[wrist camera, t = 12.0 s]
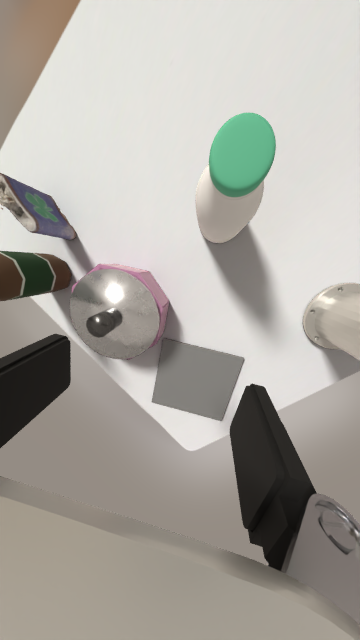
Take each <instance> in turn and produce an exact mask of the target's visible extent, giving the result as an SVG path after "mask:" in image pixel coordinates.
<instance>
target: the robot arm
mask: <svg viewBox="0 0 360 640" xmlns="http://www.w3.org/2000/svg"><path fill="white" fill-rule="evenodd" d="M303 327H304V330H305V333H306V334H307V336H308V337H309V338H310V339H311V340H312V341H313V342H315V343H316V344H318V345H319V346H322V347H324V348H328V349H341V350H343V351H345V352H346V353H348V354H349V355H351V356H353V357H354V358H356V359H357V360H359V361H360V284H356V283H343V284H337V285H334V286H331V287H329V288H327V289H325V290H323V291H322V292H320V293H319V294H317V295H316V296H315V297H314V298H313V299H312V300H311V302H310V303H309V304H308V306H307V308H306V310H305V313H304V316H303ZM69 385H70V341H69V340H68V338H67V337H66V336H62V335H58V334H53V335H51V336H48V337H46V338H44V339H42V340H40V341H37V342H35V343H33V344H31V345H29V346H27V347H24V348H22V349H20V350H18V351H15V352H13V353H11V354H9V355H7V356H5V357H2V358H0V448H1V447H2V446H3V445H5V444H6V443H7V442H8V441H9V440H10V439H11V438H12V437H13V436H14V435H16V434H17V433H18V432H19V431H20V430H21V429H22V428H24V427H25V426H26V425H27V424H28V423H29V422H30V421H31V420H32V419H34V418H35V417H36V416H37V415H38V414H39V413H40V412H41V411H42V410H44V409H45V408H46V407H47V406H48V405H49V404H50V403H51V402H53V400H55V399H56V398H57V397H58V396H59V395H60V394H61V393H63V392H64V391H65V390H66V389H67V388H68V386H69ZM230 438H231V445H232V451H233V458H234V465H235V472H236V478H237V485H238V493H239V500H240V507H241V514H242V520H243V525H244V527H245V528H246V529H248V532H249V538H250V543H252V544H255V545H259V546H262V547H263V552H264V557H265V559H266V561H267V562H266V564H265V565H264V564H262V563H259V562H257V561H255V560H252V559H249V558H246V557H244V556H241V555H238V554H235V553H232V552H229V551H227V550H224V549H221V548H218V547H215V546H212V545H210V544H207V543H204V542H201V541H198V540H195V539H192V538H189V537H186V536H183V535H180V534H177V533H174V532H171V531H168V530H165V529H162V528H159V527H156V526H153V525H150V524H147V523H144V522H141V521H138V520H135V519H132V518H129V517H125V516H122V515H119V514H116V513H113V512H110V511H107V510H104V509H101V508H98V507H95V506H92V505H89V504H86V503H82V502H79V501H76V500H73V499H70V498H67V497H64V496H61V495H58V494H54V493H51V492H48V491H45V490H42V489H39V488H36V487H33V486H29V485H27V484H24V483H20V482H17V481H14V480H11V479H8V478H4V477H1V476H0V640H360V524H359V523H358V522H357V521H356V519H355V518H354V517H353V516H352V515H351V514H350V513H349V512H348V511H347V510H346V509H345V508H344V507H343V506H342V505H340V504H339V503H338V502H336V501H335V500H334V499H332V498H330V497H328V496H326V495H323V494H317V493H316V491H315V489H314V487H313V485H312V483H311V481H310V479H309V477H308V475H307V473H306V470H305V469H304V466H303V464H302V462H301V460H300V458H299V456H298V454H297V452H296V450H295V448H294V446H293V444H292V442H291V440H290V437H289V435H288V433H287V431H286V429H285V427H284V425H283V424H282V422H281V420H280V418H279V416H278V414H277V412H276V410H275V408H274V406H273V404H272V401H271V399H270V397H269V395H268V393H267V391H266V389H265V387H263V386H259V385H255V384H251V385H250V386H246V388H245V390H244V393H243V395H242V398H241V400H240V403H239V405H238V408H237V411H236V413H235V416H234V418H233V421H232V423H231V426H230Z"/></svg>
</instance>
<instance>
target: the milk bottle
mask: <svg viewBox="0 0 360 640" xmlns="http://www.w3.org/2000/svg"><path fill="white" fill-rule="evenodd" d="M275 147H276V143H275V136H274V132H273V129H272V127H271V126H270V124H269V123H268V121H267V120H266V119H264V118H263V117H262V116H260V115H258V114H255V113H242V114H239V115H236V116H234V117H232V118H231V119H229V120H228V121H227V122H226V123H225V124H224V125H223V126H222V127H221V128H220V130H219V131H218V133H217V135H216V137H215V138H214V141H213V143H212V146H211V150H210V156H209V164H208V166H207V167H206V168H205V170H204V171H203V173H202V175H201V177H200V180H199V182H198V186H197V190H196V200H195V201H196V213H197V219H198V225H199V228H200V231H201V233H202V235H203V236H204V237H205V238H206V239H207V240H209V241H211V242H214V243H223V242H227V241H229V240H231V239H232V238H233V237H235V236H236V235H237V234H238V233H239V232H240V231H241V230H242V229H243V228H244V227H245V226H246V225H247V224H248V223H249V221H250V220H251V219H252V218H253V216H254V215H255V213H256V212H257V210H258V207H259V205H260V203H261V200H262V196H263V190H264V178H265V177H266V175H267V174H268V172H269V170H270V168H271V166H272V163H273V160H274V155H275Z"/></svg>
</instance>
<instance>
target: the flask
mask: <svg viewBox="0 0 360 640" xmlns="http://www.w3.org/2000/svg"><path fill="white" fill-rule="evenodd" d="M0 204H1V205H2V206H5V207H7V208H8V209H9V210H10V212H11V213H12V214H13V215H14V216H15V217H16V219H17V220H18V221H19V222H20V223H21V224H22V225H23V226H24V227H25V228H26V229H27V230H28V231H30V232H32V233H38V234H43V235H49V236H53V237H59V238H64V239H68V240H73V239H74V238H75V237H76V234H75V230H74V228H73V227H72V226H70V224H69V223H68V221H67V219H66V217H65V216H64V215H63V214H62V213H61V212H60V209H59V208H58V207H57V206H56V203H55V202H54V200H53V198H52V197H51V196H49V195H47V194H44V193H42V192H40V191H38V190H36V189H34V188H32V187H30V186H27V185H25V184H23V183H21V182H18V181H17V180H15V179H12V178H10V177H8V176H6V175H4V174H1V173H0ZM1 209H2V210H3V208H1Z"/></svg>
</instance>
